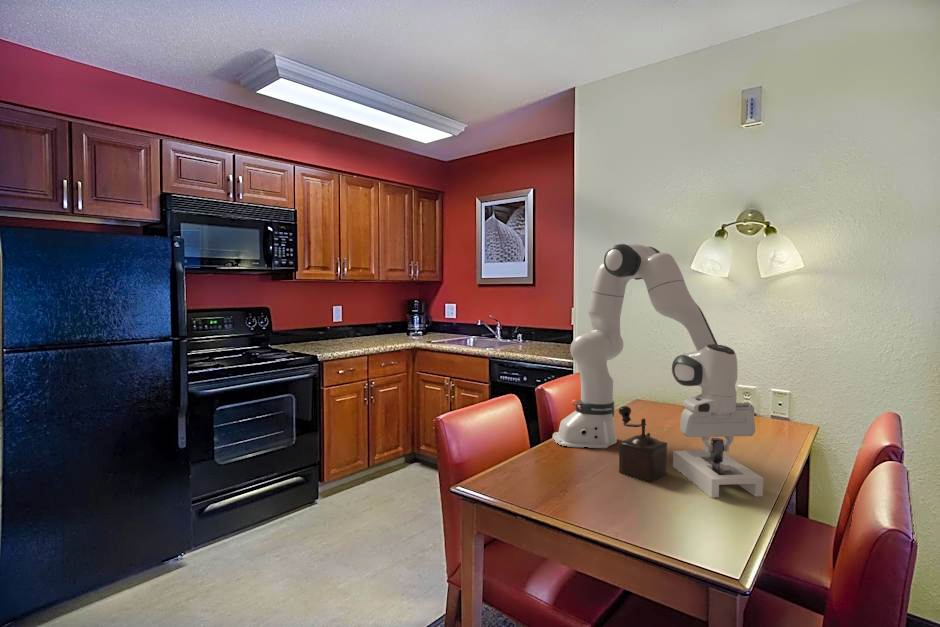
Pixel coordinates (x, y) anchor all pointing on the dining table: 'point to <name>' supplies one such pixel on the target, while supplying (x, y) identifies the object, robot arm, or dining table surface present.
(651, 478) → the manual coffee grinder
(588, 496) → the dining table surface
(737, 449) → the dining table surface
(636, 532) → the dining table surface
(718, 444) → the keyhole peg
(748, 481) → the keyhole board
